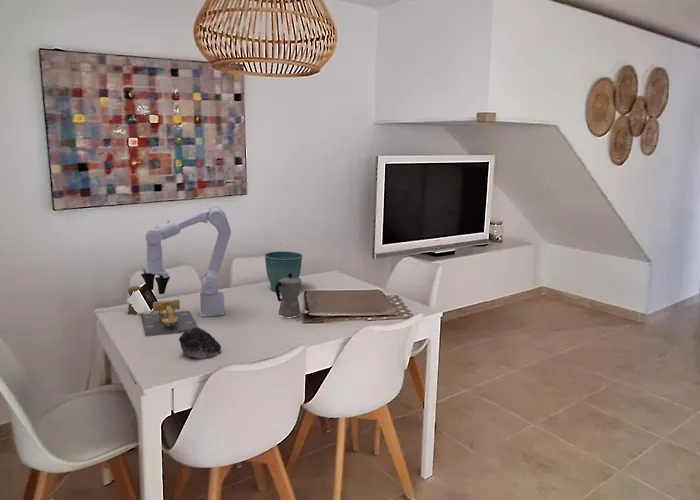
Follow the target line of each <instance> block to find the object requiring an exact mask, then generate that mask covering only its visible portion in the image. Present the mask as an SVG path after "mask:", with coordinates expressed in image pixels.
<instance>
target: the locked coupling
mask: <svg viewBox="0 0 700 500" xmlns="http://www.w3.org/2000/svg"><path fill="white" fill-rule="evenodd" d="M180 302H181V301H180V299H178V298H177V299H174V300H162V301H153V302H152V308H153V309H152V310H153V312H158V314H159V315H162V316H166V306H171V308H172V311H173V312H174V313H175V312H176V311H175V310H181V303H180Z"/></svg>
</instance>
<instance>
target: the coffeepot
mask: <svg viewBox="0 0 700 500" xmlns="http://www.w3.org/2000/svg"><path fill="white" fill-rule="evenodd" d="M288 276H289V278H282V279H280V280H279V282H278V283H277V284H276V286H275V291H274V292H275V294H276V297H277V301H278V302H280V303H279V309H278V314H279V315H281V316H284V317H293V316H298V315H299V314H300V313H301V309H300V300H299V296H300V292H301V287H302V286H301V285H302V278H300V277H299V278H292V274H291V273H289V274H288ZM279 287H280V292H279ZM279 315H278V316H279ZM300 315H301V314H300Z"/></svg>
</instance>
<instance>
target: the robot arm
mask: <svg viewBox="0 0 700 500" xmlns="http://www.w3.org/2000/svg"><path fill="white" fill-rule="evenodd" d="M208 222H209V223H210V224H211V225H212V226H213V227H214V228H215V229H216V231H217V232H218V234H217V237H216V240H215V244H214V247H213V250H212V254H211V257H210V260H209V264H208V266H207V269H206V271H205V274H204V275H203V277H202V278H201V280H200V284H201V285H200V287H201V288H200V289H201V290H200V291H199V297H200V298H199V299H200V300H199V302H200V304H199V307H200V309H198V311H197V312H198V314H199V315H200V317H201V318H205V317H216V316H218V317H219V316H225V297H224V293H223V292H222V291H219V289H218V279H219V273H220V270H221V267H222V263H223V260H224V258H225V253H226V252H227V251H226V250H227V247H228V244H229V240H230V238H231V234H232V229H231V227H230V224H229V220H228V218H227V215H226V213H225V212H224V211H223V209H221V208H220V207H218V206H211V207H210V208H206V209H203V210H200V211H198V212H196V213H194V214H191V215H189V216H187V217H185V218H183V219H181V220H179V221H176V220H170V219H169V220H166V222H165V223H163V224H160V225H155V228H152V227H151V228H149V229H148V230H147V231H146V234H145V241H146V262H147V264H146V265H147V266H142V272H143V273H141V274H140V275H141V277H142V279H143V281H144V284H145V286H146V289H147V291H148V292H150V291H153V290H154V287H155V285H154V284H155V283H154V282H155V281H156V284H157V288H158V289H157V290H158V294H159V295H164V294H166V290H167V289H166V288H167V285H168V283H169V280H170V279H171V276H169V272H168V271H167V270H165V269H164V267H163V247H162V240H163V241H164V240H168V239H170V238H172V237H175V236H176V235H179V234H180V233H181V230H182V229H185V228H187V227H190V226H193V225H196V224H198V223H204V224H208ZM156 276H157V277H156Z"/></svg>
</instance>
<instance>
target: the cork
mask: <svg viewBox="0 0 700 500" xmlns="http://www.w3.org/2000/svg"><path fill="white" fill-rule="evenodd" d="M141 289H142V287H140V286H138V285H133V286H130V287H128V290H127V293H128V295H129V297H130V296H131V295H132V293H133V291H134V292H135V291H137V290H141ZM131 305H132V304H130V303H129V302H128V310H127V314H128V313H130V314H137V312H136V311H135V310H134V308H133V307H132V306H131ZM130 314H129V315H130Z"/></svg>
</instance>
